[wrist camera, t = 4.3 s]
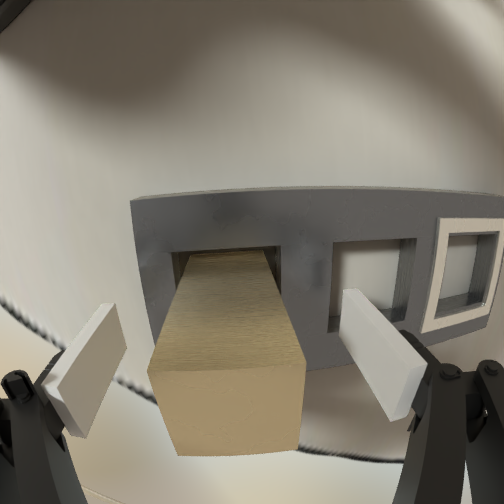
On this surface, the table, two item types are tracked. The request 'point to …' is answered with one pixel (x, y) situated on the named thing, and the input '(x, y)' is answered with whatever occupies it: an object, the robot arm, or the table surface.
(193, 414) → the peg
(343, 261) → the table surface
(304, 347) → the grey flat slotted block
